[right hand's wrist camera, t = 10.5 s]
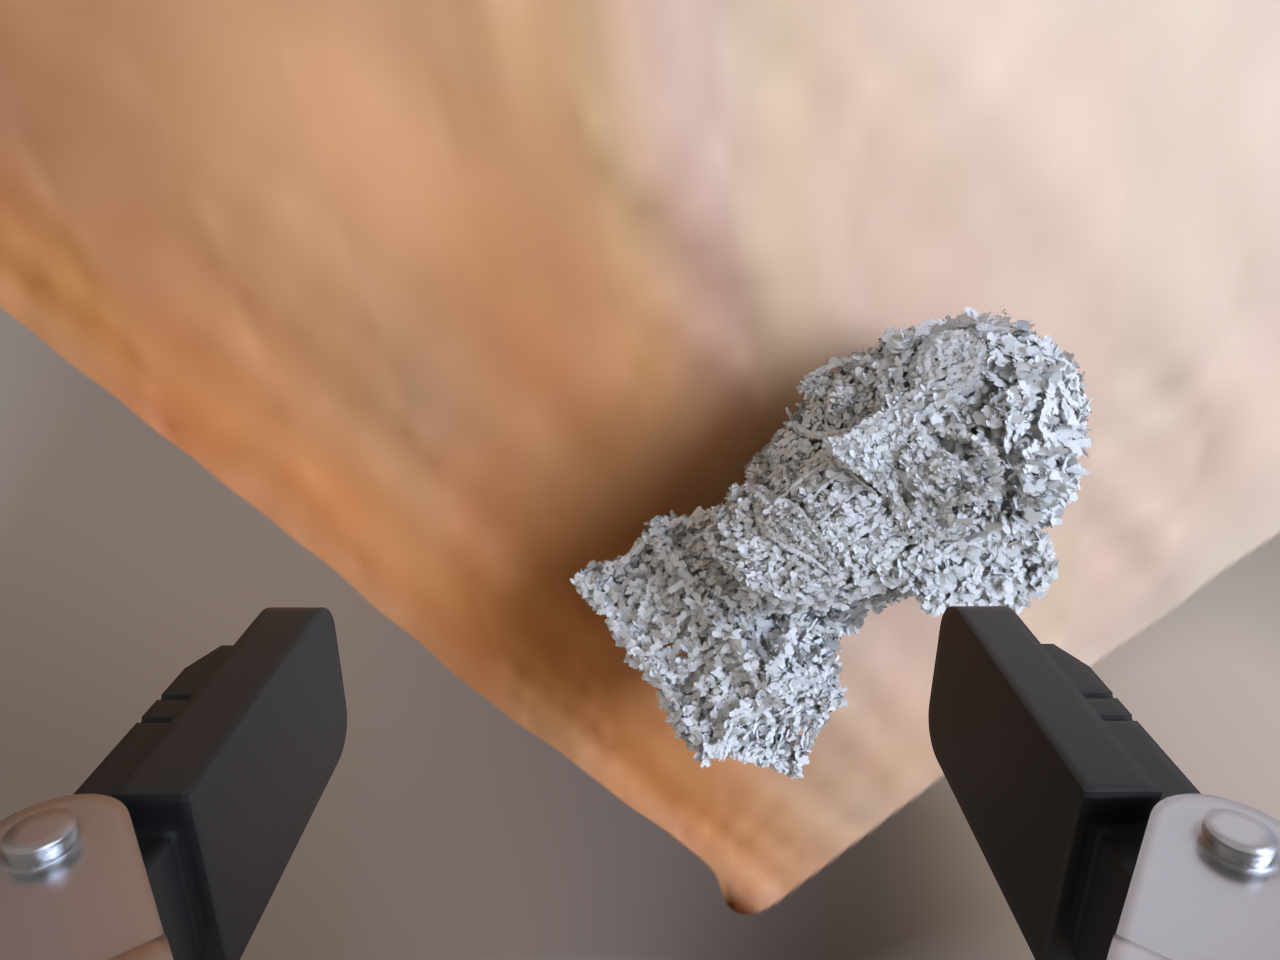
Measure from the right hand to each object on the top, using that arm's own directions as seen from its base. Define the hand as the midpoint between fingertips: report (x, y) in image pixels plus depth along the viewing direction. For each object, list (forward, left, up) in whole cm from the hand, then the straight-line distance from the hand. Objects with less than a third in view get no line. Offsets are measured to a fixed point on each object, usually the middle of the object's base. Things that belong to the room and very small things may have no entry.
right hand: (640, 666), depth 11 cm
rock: (0, +15, -40) cm, 42 cm away
